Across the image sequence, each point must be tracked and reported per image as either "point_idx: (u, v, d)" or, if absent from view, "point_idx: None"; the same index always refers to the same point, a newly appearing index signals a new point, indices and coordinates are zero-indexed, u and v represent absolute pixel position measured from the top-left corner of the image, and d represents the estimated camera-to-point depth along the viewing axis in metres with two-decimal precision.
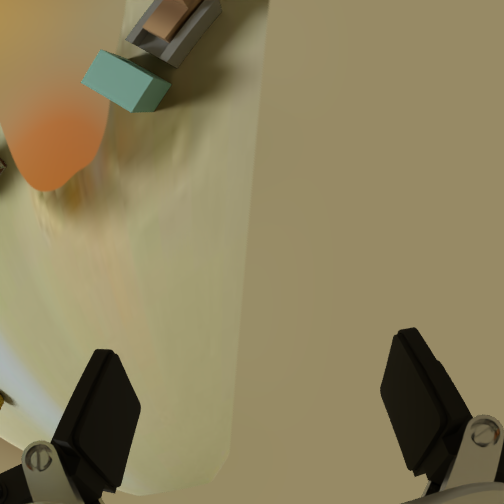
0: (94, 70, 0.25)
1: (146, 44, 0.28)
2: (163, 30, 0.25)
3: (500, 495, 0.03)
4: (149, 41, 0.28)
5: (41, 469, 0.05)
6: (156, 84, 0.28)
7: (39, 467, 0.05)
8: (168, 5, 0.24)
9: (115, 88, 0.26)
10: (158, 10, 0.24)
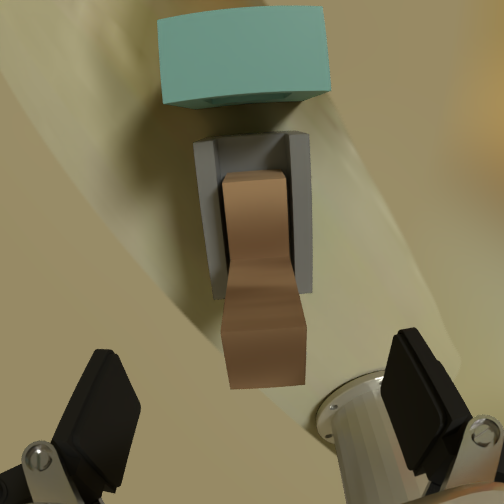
0: (309, 41, 0.11)
1: (272, 145, 0.17)
2: (237, 196, 0.15)
3: (500, 495, 0.03)
4: (271, 153, 0.18)
5: (42, 469, 0.05)
6: None
7: (39, 467, 0.05)
8: (270, 245, 0.16)
9: (227, 34, 0.11)
10: (280, 226, 0.16)
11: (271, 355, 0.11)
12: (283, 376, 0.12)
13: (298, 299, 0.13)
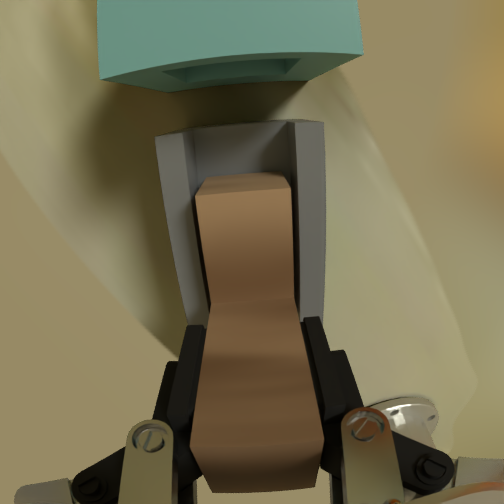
0: None
1: (269, 138, 0.12)
2: (218, 215, 0.10)
3: (500, 495, 0.03)
4: (268, 149, 0.13)
5: (148, 448, 0.06)
6: None
7: (146, 445, 0.07)
8: (267, 284, 0.11)
9: None
10: (281, 257, 0.11)
11: (268, 468, 0.07)
12: (285, 483, 0.07)
13: (310, 383, 0.08)
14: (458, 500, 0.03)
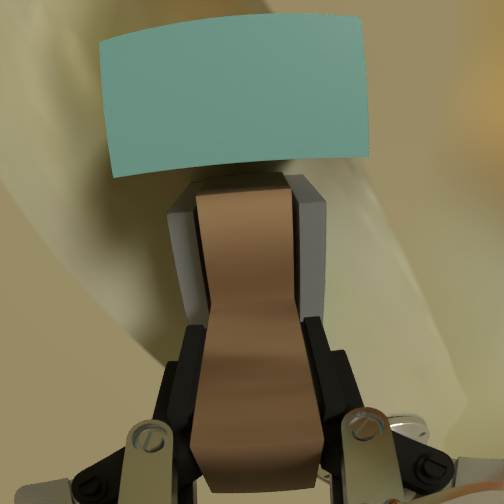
0: (339, 76, 0.07)
1: None
2: (219, 215, 0.10)
3: (500, 495, 0.03)
4: None
5: (147, 448, 0.06)
6: None
7: (146, 445, 0.07)
8: (267, 284, 0.11)
9: (207, 61, 0.07)
10: (282, 258, 0.11)
11: (267, 468, 0.07)
12: (285, 483, 0.07)
13: (310, 383, 0.08)
14: (458, 500, 0.03)
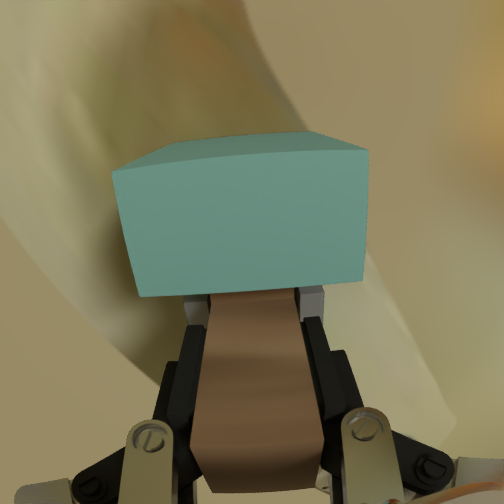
0: (342, 214, 0.09)
1: None
2: None
3: (500, 495, 0.03)
4: None
5: (147, 448, 0.06)
6: None
7: (146, 445, 0.07)
8: None
9: (220, 203, 0.09)
10: None
11: (268, 468, 0.07)
12: (285, 483, 0.07)
13: (310, 383, 0.08)
14: (458, 500, 0.03)
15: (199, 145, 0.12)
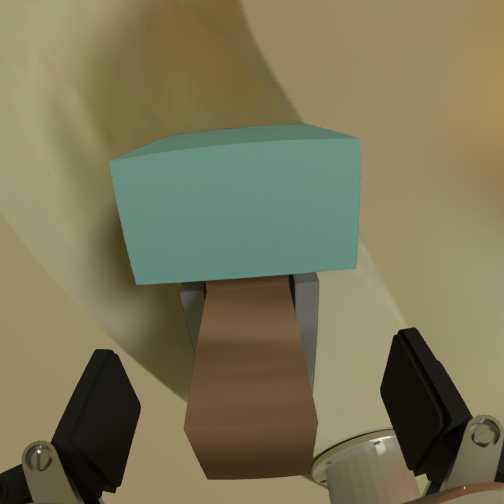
0: (335, 201, 0.09)
1: None
2: None
3: (500, 495, 0.03)
4: None
5: (41, 469, 0.05)
6: None
7: (39, 467, 0.05)
8: None
9: (215, 191, 0.09)
10: None
11: (262, 452, 0.07)
12: (280, 469, 0.07)
13: (304, 366, 0.08)
14: (458, 500, 0.03)
15: (195, 137, 0.12)
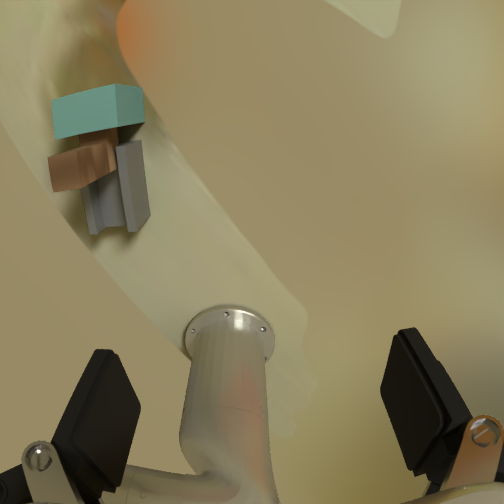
0: (108, 104, 0.24)
1: None
2: None
3: (500, 495, 0.03)
4: None
5: (41, 469, 0.05)
6: None
7: (39, 467, 0.05)
8: (97, 137, 0.26)
9: (77, 105, 0.24)
10: None
11: (65, 169, 0.22)
12: (72, 182, 0.22)
13: (85, 148, 0.23)
14: (458, 500, 0.03)
15: None
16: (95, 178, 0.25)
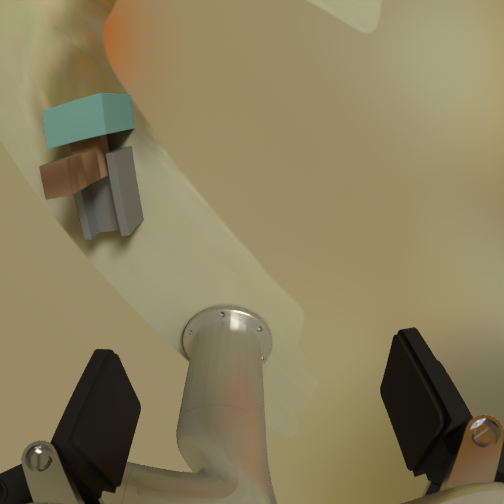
0: (96, 112, 0.25)
1: None
2: None
3: (500, 495, 0.03)
4: None
5: (41, 469, 0.05)
6: None
7: (39, 467, 0.05)
8: (87, 144, 0.27)
9: (66, 115, 0.24)
10: None
11: (56, 176, 0.23)
12: (63, 189, 0.23)
13: (75, 156, 0.24)
14: (458, 500, 0.03)
15: None
16: (86, 184, 0.26)
